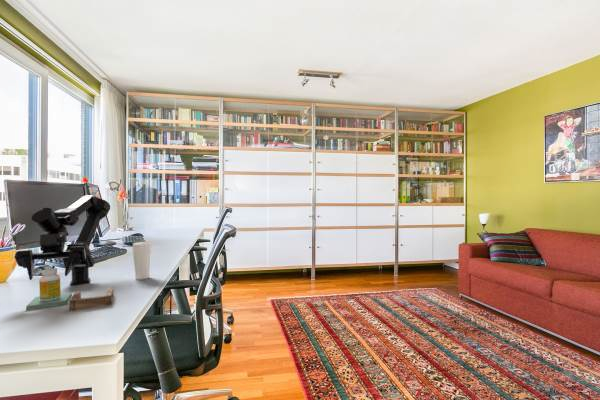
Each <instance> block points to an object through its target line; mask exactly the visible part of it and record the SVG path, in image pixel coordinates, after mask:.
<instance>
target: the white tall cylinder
mask: <svg viewBox="0 0 600 400" xmlns="http://www.w3.org/2000/svg"><path fill="white" fill-rule="evenodd" d="M151 254H152V247H151V242H150V241H140V242H139V241H138V242H133V243H132V256H133V257H132V258H133V265H134V266H133V267H134V273H135V279H136V280H138V281H139V280H140V281H141V280H147V279H149V277H150V271H151V270H150V267H151Z"/></svg>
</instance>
